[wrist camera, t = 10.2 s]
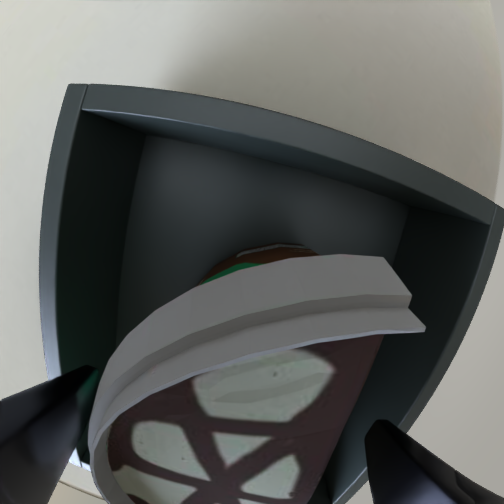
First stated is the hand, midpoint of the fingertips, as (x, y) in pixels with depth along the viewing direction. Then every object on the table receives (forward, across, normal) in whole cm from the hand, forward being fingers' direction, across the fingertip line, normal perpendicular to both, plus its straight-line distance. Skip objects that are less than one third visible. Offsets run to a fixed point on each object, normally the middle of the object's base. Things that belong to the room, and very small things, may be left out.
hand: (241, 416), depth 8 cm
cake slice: (+7, +1, +1) cm, 7 cm away
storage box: (+7, 0, 0) cm, 7 cm away
